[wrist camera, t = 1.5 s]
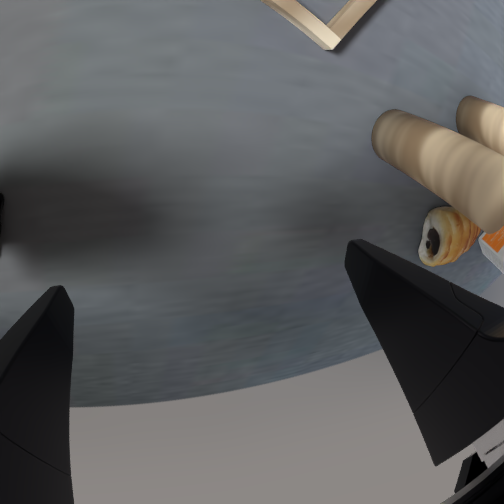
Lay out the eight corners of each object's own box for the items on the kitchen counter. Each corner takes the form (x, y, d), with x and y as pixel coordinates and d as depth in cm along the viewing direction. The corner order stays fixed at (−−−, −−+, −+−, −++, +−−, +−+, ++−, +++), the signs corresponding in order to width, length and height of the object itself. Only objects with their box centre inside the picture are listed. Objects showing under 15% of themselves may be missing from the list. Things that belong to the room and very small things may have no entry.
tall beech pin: (361, 139, 20) (473, 208, 11) (394, 98, 19) (514, 145, 10) (392, 171, 22) (490, 245, 13) (421, 133, 21) (526, 192, 12)
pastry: (477, 197, 27) (499, 214, 24) (462, 245, 31) (481, 263, 28) (424, 204, 25) (450, 225, 22) (410, 260, 29) (430, 282, 26)
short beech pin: (450, 116, 20) (500, 139, 15) (470, 86, 19) (520, 104, 14) (466, 147, 22) (511, 172, 18) (485, 118, 21) (530, 139, 16)
